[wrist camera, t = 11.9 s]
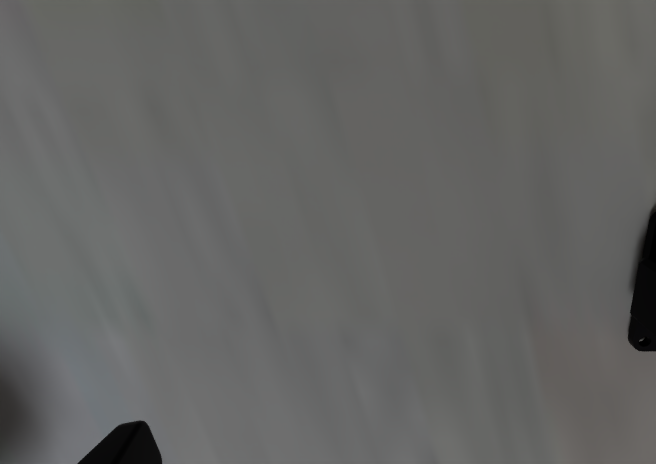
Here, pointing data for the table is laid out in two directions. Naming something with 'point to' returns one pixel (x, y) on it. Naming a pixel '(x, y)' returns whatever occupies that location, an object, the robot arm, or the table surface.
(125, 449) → the robot arm
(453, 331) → the table surface
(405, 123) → the table surface
